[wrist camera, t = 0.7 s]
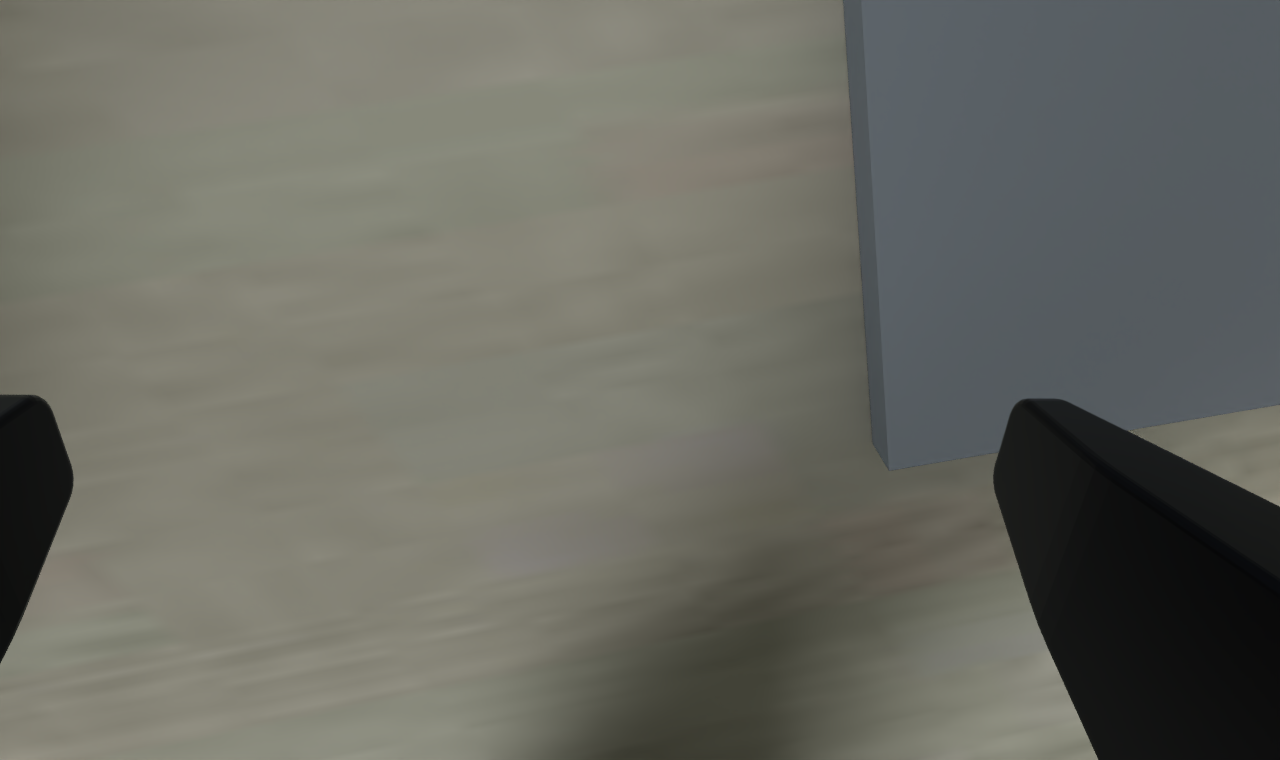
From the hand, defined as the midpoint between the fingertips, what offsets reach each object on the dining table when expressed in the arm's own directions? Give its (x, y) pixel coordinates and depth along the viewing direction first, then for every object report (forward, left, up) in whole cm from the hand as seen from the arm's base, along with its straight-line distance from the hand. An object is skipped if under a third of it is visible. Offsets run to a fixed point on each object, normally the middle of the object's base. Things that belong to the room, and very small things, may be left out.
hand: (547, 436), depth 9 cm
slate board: (-3, -13, -14) cm, 19 cm away
